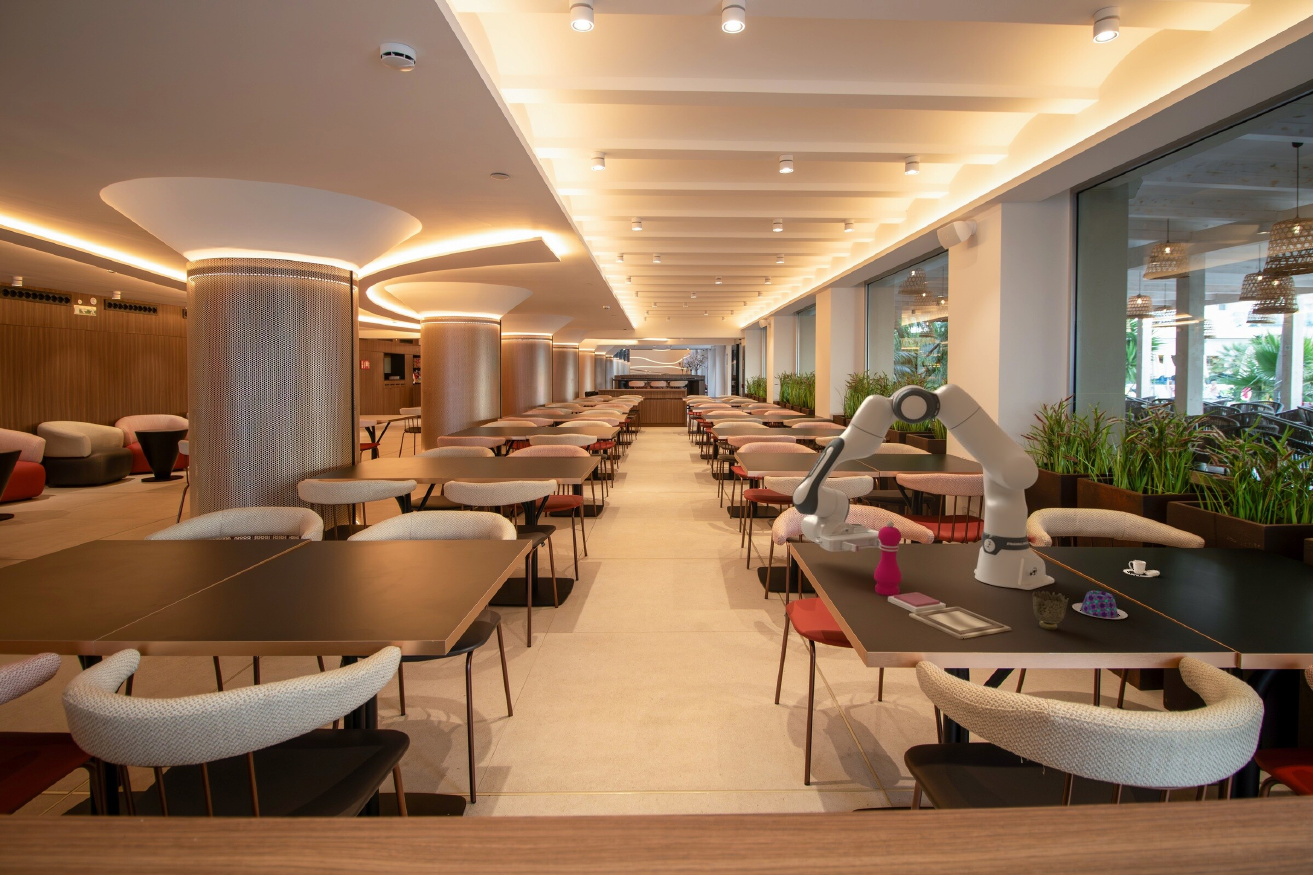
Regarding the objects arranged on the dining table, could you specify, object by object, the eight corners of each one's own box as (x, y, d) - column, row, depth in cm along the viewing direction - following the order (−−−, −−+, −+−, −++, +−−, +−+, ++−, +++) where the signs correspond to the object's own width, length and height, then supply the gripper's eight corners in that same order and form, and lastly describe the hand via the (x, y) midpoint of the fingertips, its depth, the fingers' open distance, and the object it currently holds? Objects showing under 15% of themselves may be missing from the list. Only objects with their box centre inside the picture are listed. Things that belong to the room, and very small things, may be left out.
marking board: (957, 608, 177) (957, 605, 177) (1010, 630, 162) (1010, 627, 162) (909, 616, 171) (909, 613, 171) (959, 639, 156) (960, 635, 156)
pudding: (1098, 604, 184) (1100, 585, 183) (1139, 620, 172) (1141, 599, 171) (1060, 607, 181) (1062, 587, 180) (1099, 623, 169) (1101, 602, 169)
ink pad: (916, 597, 186) (917, 590, 186) (945, 608, 177) (945, 602, 177) (887, 601, 182) (888, 594, 182) (915, 613, 173) (915, 606, 173)
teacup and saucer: (1163, 577, 210) (1164, 564, 210) (1146, 580, 207) (1147, 566, 207) (1134, 569, 218) (1135, 557, 218) (1117, 572, 215) (1118, 559, 215)
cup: (1071, 634, 160) (1073, 601, 159) (1036, 632, 162) (1038, 598, 161) (1059, 623, 167) (1061, 591, 167) (1026, 621, 169) (1028, 589, 168)
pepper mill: (902, 590, 191) (905, 520, 190) (899, 598, 185) (903, 525, 183) (875, 587, 194) (878, 517, 193) (871, 594, 188) (874, 522, 186)
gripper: (811, 528, 204) (840, 539, 192) (866, 523, 212) (898, 533, 199) (810, 549, 205) (840, 561, 192) (866, 543, 213) (897, 554, 200)
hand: (870, 547), depth 196 cm, fingers open, 8 cm apart
